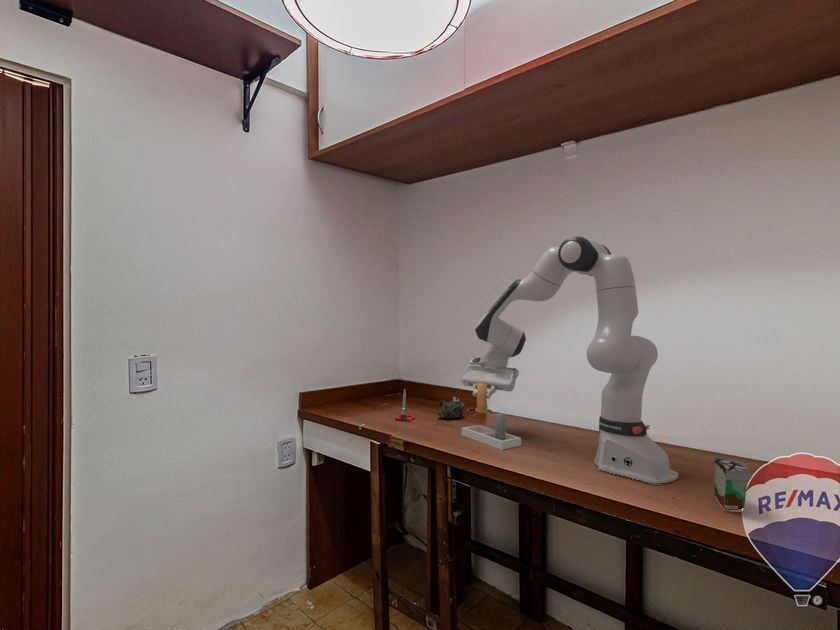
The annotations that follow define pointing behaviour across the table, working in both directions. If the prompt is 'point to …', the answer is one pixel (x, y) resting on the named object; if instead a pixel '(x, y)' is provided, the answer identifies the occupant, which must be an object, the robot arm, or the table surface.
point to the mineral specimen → (451, 409)
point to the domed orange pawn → (481, 398)
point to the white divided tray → (490, 437)
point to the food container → (730, 482)
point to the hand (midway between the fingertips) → (480, 396)
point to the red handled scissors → (404, 411)
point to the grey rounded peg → (500, 426)
